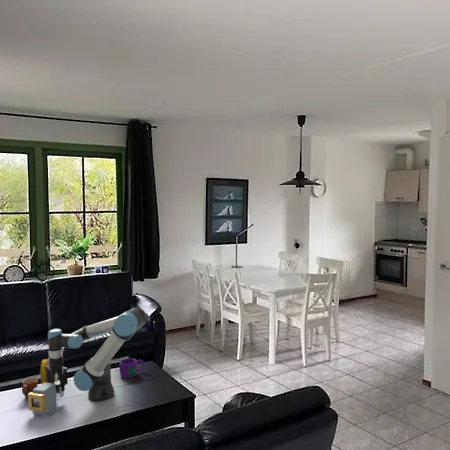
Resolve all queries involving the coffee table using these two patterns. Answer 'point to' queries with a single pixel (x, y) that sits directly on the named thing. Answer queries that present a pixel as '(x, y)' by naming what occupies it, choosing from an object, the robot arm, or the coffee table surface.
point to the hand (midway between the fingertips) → (57, 396)
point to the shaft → (56, 392)
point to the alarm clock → (43, 371)
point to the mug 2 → (129, 367)
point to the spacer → (41, 402)
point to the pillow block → (47, 398)
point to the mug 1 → (29, 386)
